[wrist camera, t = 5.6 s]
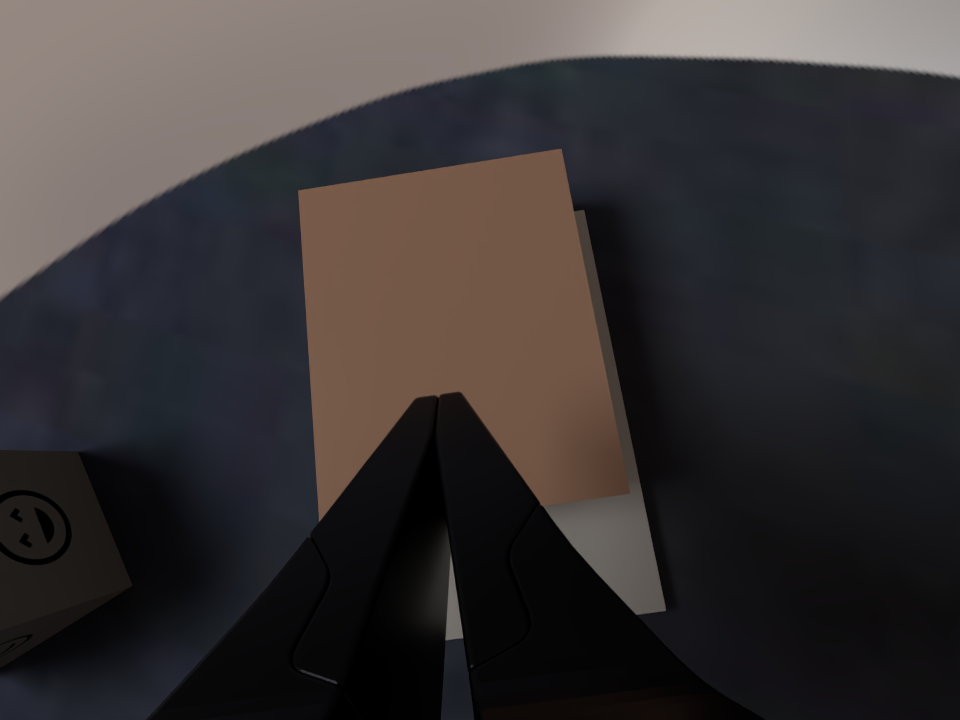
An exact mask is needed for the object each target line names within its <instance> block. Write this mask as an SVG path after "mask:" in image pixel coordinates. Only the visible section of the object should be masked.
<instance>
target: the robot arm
mask: <svg viewBox="0 0 960 720" xmlns="http://www.w3.org/2000/svg"><path fill="white" fill-rule="evenodd" d="M310 535H311V537H308V538H306V540H305V541H304V542H303V543H302V545H301V546H300V547H299V549H298V550H297V551H296V552H295V554H294V555H293V556H292V558H291V559H290V560H289V561H288V562H287V564H286V565H285V566H284V567H283V569H282V570H281V571H280V572H279V574H278V575H277V576H276V577H275V578H274V580H273V581H272V582H271V583H270V585H269V586H268V587H267V588H266V589H265V590H264V592H263V593H262V594H261V595H260V596H259V597H258V598H257V600H256V601H255V602H254V603H253V604H252V605H251V606H250V607H249V609H248V610H247V611H246V612H245V613H244V614H243V615H242V616H241V618H240V619H239V620H238V621H237V622H236V623H235V624H234V625H233V626H232V628H231V629H230V630H229V631H228V632H227V633H226V634H225V635H224V636H223V637H222V638H221V639H220V641H219V642H218V643H217V644H216V645H215V646H214V647H213V648H212V649H211V650H210V651H209V652H208V654H207V655H206V656H205V657H204V658H203V659H202V660H201V661H200V662H199V663H198V664H197V666H196V667H195V668H194V669H193V670H192V671H191V672H190V673H189V674H188V675H187V676H186V677H185V679H184V680H183V681H182V682H181V683H180V684H179V685H178V686H177V687H176V688H175V689H174V691H173V692H172V693H171V694H170V695H169V696H168V697H167V698H166V699H165V700H164V701H163V702H162V704H161V705H160V706H159V707H158V708H157V709H156V710H155V711H154V712H153V713H152V714H151V715H150V716H149V717H148V718H147V719H146V720H441V706H442V690H443V673H444V657H445V640H446V624H447V607H448V591H449V574H450V558H451V557H452V564H453V571H454V578H455V585H456V592H457V599H458V605H459V612H460V619H461V626H462V633H463V640H464V646H465V653H466V660H467V667H468V672H469V681H470V688H471V695H472V703H473V711H474V720H765V719H764V718H762V717H760V716H758V715H757V714H755V713H753V712H752V711H750V710H748V709H746V708H745V707H743V706H741V705H740V704H738V703H736V702H734V701H733V700H731V699H729V698H728V697H726V696H725V695H723V694H721V693H720V692H718V691H717V690H715V689H714V688H713V687H711V686H710V685H708V684H707V683H706V682H704V681H703V680H702V679H701V678H700V677H698V676H697V675H696V674H695V673H693V672H692V671H691V670H690V669H689V668H688V667H687V666H686V665H685V664H684V663H683V662H681V661H680V660H679V659H678V658H677V657H676V656H675V655H674V654H673V653H672V652H671V651H670V650H669V649H668V648H667V647H666V646H665V645H664V644H663V642H662V641H661V640H660V639H659V638H658V637H657V636H656V635H655V634H654V633H653V632H652V631H651V630H650V629H649V628H648V627H647V626H646V625H645V623H644V622H643V621H642V620H641V619H640V618H639V617H638V616H637V615H636V614H635V613H634V612H633V611H632V610H631V609H630V608H629V607H628V606H627V604H626V603H625V602H624V601H623V600H622V599H621V598H620V597H619V596H618V595H617V594H616V593H615V592H614V591H613V590H612V589H611V588H610V586H609V585H608V584H607V583H606V582H605V581H604V580H603V579H602V578H601V577H600V576H599V575H598V574H597V573H596V572H595V570H594V569H593V568H592V567H591V566H590V565H589V564H588V563H587V561H586V560H585V559H584V558H583V557H582V556H581V555H580V554H579V552H578V551H577V550H576V549H575V548H574V547H573V545H572V544H571V543H570V542H569V540H568V539H567V538H566V536H565V535H564V534H563V532H562V531H561V530H560V529H559V527H558V526H557V525H556V523H555V522H554V521H553V519H552V518H551V517H550V515H549V514H548V512H547V511H546V510H545V508H544V507H543V506H542V505H540V502H539V500H538V499H537V497H536V496H535V494H534V493H533V492H532V490H531V489H530V487H529V486H528V485H527V483H526V482H525V480H524V479H523V478H522V476H521V475H520V473H519V472H518V471H517V469H516V468H515V466H514V465H513V464H512V462H511V461H510V459H509V458H508V457H507V455H506V454H505V452H504V451H503V450H502V448H501V447H500V445H499V444H498V443H497V441H496V440H495V438H494V437H493V435H492V434H491V433H490V431H489V430H488V428H487V427H486V426H485V424H484V423H483V421H482V420H481V419H480V417H479V416H478V414H477V413H476V412H475V410H474V409H473V407H472V406H471V405H470V403H469V402H468V400H467V399H466V398H465V396H464V395H463V393H461V392H459V391H458V392H451V393H444V394H441V395H440V396H439V397H438V396H436V395H431V396H424V397H418V398H416V399H414V400H413V402H412V403H411V404H410V406H409V407H408V408H407V409H406V411H405V412H404V413H403V415H402V416H401V417H400V418H399V420H398V421H397V422H396V424H395V425H394V426H393V427H392V429H391V430H390V431H389V433H388V434H387V435H386V437H385V438H384V439H383V440H382V442H381V443H380V444H379V446H378V447H377V448H376V449H375V451H374V452H373V453H372V455H371V456H370V457H369V458H368V460H367V461H366V462H365V464H364V465H363V466H362V468H361V469H360V470H359V471H358V473H357V474H356V475H355V477H354V478H353V479H352V480H351V482H350V483H349V484H348V486H347V487H346V488H345V489H344V491H343V492H342V493H341V495H340V496H339V497H338V499H337V500H336V501H335V502H334V504H333V505H332V506H331V508H330V509H329V510H328V511H327V513H326V514H325V515H324V517H323V518H322V519H321V520H320V522H319V523H318V524H317V526H316V527H315V528H314V530H313V531H312V532H311V534H310Z"/></svg>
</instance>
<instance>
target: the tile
mask: <svg viewBox="0 0 960 720" xmlns="http://www.w3.org/2000/svg"><path fill="white" fill-rule="evenodd" d="M298 192H299V208H300V223H301V239H302V255H303V271H304V286H305V302H306V318H307V334H308V350H309V365H310V381H311V397H312V413H313V428H314V444H315V460H316V476H317V492H318V507H319V522H320V520H321V519H322V518H323V517H324V515H325V514H326V513H327V511H328V510H329V509H330V508H331V506H332V505H333V504H334V502H335V501H336V500H337V499H338V497H339V496H340V495H341V493H342V492H343V491H344V489H345V488H346V487H347V486H348V484H349V483H350V482H351V480H352V479H353V478H354V477H355V475H356V474H357V473H358V471H359V470H360V469H361V468H362V466H363V465H364V464H365V462H366V461H367V460H368V458H369V457H370V456H371V455H372V453H373V452H374V451H375V449H376V448H377V447H378V446H379V444H380V443H381V442H382V440H383V439H384V438H385V437H386V435H387V434H388V433H389V431H390V430H391V429H392V427H393V426H394V425H395V424H396V422H397V421H398V420H399V418H400V417H401V416H402V415H403V413H404V412H405V411H406V409H407V408H408V407H409V406H410V404H411V403H412V402H413V400H414V399H416V398H418V397H424V396H431V395H436V396H438V397H439V396H440V395H441V394H444V393H451V392H458V391H459V392H461V393H463V395H464V396H465V398H466V399H467V400H468V402H469V403H470V405H471V406H472V407H473V409H474V410H475V412H476V413H477V414H478V416H479V417H480V419H481V420H482V421H483V423H484V424H485V426H486V427H487V428H488V430H489V431H490V433H491V434H492V435H493V437H494V438H495V440H496V441H497V443H498V444H499V445H500V447H501V448H502V450H503V451H504V452H505V454H506V455H507V457H508V458H509V459H510V461H511V462H512V464H513V465H514V466H515V468H516V469H517V471H518V472H519V473H520V475H521V476H522V478H523V479H524V480H525V482H526V483H527V485H528V486H529V487H530V489H531V490H532V492H533V493H534V494H535V496H536V497H537V499H538V500H539V502H540V505H542V506H546V505H553V504H560V503H567V502H574V501H581V500H589V499H596V498H603V497H610V496H617V495H624V494H630V490H629V485H628V480H627V475H626V470H625V465H624V460H623V455H622V450H621V445H620V440H619V435H618V430H617V425H616V420H615V415H614V410H613V405H612V400H611V395H610V390H609V385H608V380H607V375H606V370H605V365H604V360H603V355H602V350H601V345H600V340H599V335H598V330H597V325H596V320H595V315H594V310H593V305H592V300H591V295H590V290H589V285H588V280H587V275H586V270H585V265H584V260H583V255H582V250H581V245H580V240H579V235H578V230H577V225H576V220H575V215H574V210H573V205H572V200H571V195H570V190H569V185H568V180H567V175H566V170H565V165H564V160H563V155H562V150H561V149H557V150H551V151H545V152H538V153H532V154H526V155H519V156H513V157H507V158H501V159H494V160H488V161H482V162H475V163H469V164H463V165H457V166H450V167H444V168H438V169H431V170H425V171H419V172H413V173H406V174H400V175H394V176H388V177H381V178H375V179H369V180H362V181H356V182H350V183H344V184H337V185H331V186H325V187H318V188H312V189H306V190H300V191H298Z"/></svg>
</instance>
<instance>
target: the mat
mask: <svg viewBox="0 0 960 720" xmlns="http://www.w3.org/2000/svg"><path fill="white" fill-rule="evenodd" d="M574 215H575V220H576V225H577V230H578V235H579V240H580V245H581V250H582V255H583V260H584V265H585V270H586V275H587V280H588V285H589V290H590V295H591V300H592V305H593V310H594V315H595V320H596V325H597V330H598V335H599V340H600V345H601V350H602V355H603V360H604V365H605V370H606V375H607V380H608V385H609V390H610V395H611V400H612V405H613V410H614V415H615V420H616V425H617V430H618V435H619V440H620V445H621V450H622V455H623V460H624V465H625V470H626V475H627V480H628V485H629V490H630V494H624V495H617V496H610V497H603V498H596V499H589V500H581V501H574V502H567V503H560V504H553V505H546V506H543V507H544V508H545V510H546V511H547V512H548V514H549V515H550V517H551V518H552V519H553V521H554V522H555V523H556V525H557V526H558V527H559V529H560V530H561V531H562V532H563V534H564V535H565V536H566V538H567V539H568V540H569V542H570V543H571V544H572V545H573V547H574V548H575V549H576V550H577V551H578V552H579V554H580V555H581V556H582V557H583V558H584V559H585V560H586V561H587V563H588V564H589V565H590V566H591V567H592V568H593V569H594V570H595V572H596V573H597V574H598V575H599V576H600V577H601V578H602V579H603V580H604V581H605V582H606V583H607V584H608V585H609V586H610V588H611V589H612V590H613V591H614V592H615V593H616V594H617V595H618V596H619V597H620V598H621V599H622V600H623V601H624V602H625V603H626V604H627V606H628V607H629V608H630V609H631V610H632V611H633V612H634V613H635V614H636V615H639V614H646V613H654V612H661V611H666V607H665V602H664V598H663V593H662V588H661V583H660V578H659V573H658V568H657V563H656V559H655V554H654V549H653V544H652V539H651V534H650V529H649V524H648V520H647V515H646V510H645V505H644V500H643V495H642V490H641V485H640V480H639V476H638V471H637V466H636V461H635V456H634V451H633V446H632V441H631V437H630V432H629V427H628V422H627V417H626V412H625V407H624V402H623V398H622V393H621V388H620V383H619V378H618V373H617V368H616V363H615V358H614V354H613V349H612V344H611V339H610V334H609V329H608V324H607V319H606V315H605V310H604V305H603V300H602V295H601V290H600V285H599V280H598V276H597V271H596V266H595V261H594V256H593V251H592V246H591V241H590V236H589V232H588V227H587V222H586V217H585V212H584V210H580V211H574ZM458 638H463V633H462V626H461V619H460V612H459V605H458V599H457V592H456V585H455V578H454V571H453V564H452V557H451V558H450V574H449V591H448V607H447V624H446V640H451V639H458Z"/></svg>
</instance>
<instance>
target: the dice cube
mask: <svg viewBox="0 0 960 720" xmlns="http://www.w3.org/2000/svg"><path fill="white" fill-rule="evenodd" d="M132 586H133V585H132V583H131V581H130V578H129V576H128V573H127V571H126V568H125V566H124V563H123V561H122V559H121V556H120V554H119V551H118V549H117V546H116V544H115V541H114V539H113V537H112V534H111V532H110V529H109V527H108V524H107V522H106V519H105V517H104V514H103V512H102V510H101V507H100V505H99V502H98V500H97V497H96V495H95V492H94V490H93V488H92V485H91V483H90V480H89V478H88V475H87V473H86V470H85V468H84V466H83V463H82V461H81V458H80V456H79V453H78V452H70V451H15V450H0V668H1V667H3V666H5V665H6V664H8V663H10V662H11V661H13V660H14V659H16V658H18V657H19V656H21V655H22V654H24V653H26V652H27V651H29V650H30V649H32V648H34V647H35V646H37V645H38V644H40V643H42V642H43V641H45V640H46V639H48V638H50V637H51V636H53V635H55V634H56V633H58V632H59V631H61V630H63V629H64V628H66V627H67V626H69V625H71V624H72V623H74V622H75V621H77V620H79V619H80V618H82V617H83V616H85V615H87V614H88V613H90V612H91V611H93V610H95V609H96V608H98V607H100V606H101V605H103V604H104V603H106V602H108V601H109V600H111V599H112V598H114V597H116V596H117V595H119V594H120V593H122V592H124V591H125V590H127V589H128V588H130V587H132Z"/></svg>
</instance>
